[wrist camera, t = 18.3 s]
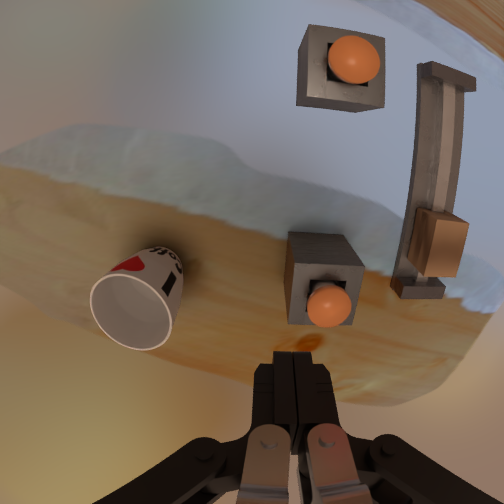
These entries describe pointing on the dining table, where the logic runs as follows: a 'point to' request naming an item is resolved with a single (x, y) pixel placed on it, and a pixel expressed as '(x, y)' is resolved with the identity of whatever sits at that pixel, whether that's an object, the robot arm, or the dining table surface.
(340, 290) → the plunger
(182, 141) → the dining table surface
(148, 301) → the cup
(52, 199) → the dining table surface
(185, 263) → the dining table surface
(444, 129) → the rail
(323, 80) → the cabinet
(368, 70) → the plunger
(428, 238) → the carriage
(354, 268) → the cabinet
